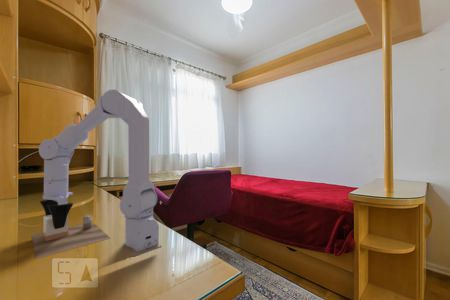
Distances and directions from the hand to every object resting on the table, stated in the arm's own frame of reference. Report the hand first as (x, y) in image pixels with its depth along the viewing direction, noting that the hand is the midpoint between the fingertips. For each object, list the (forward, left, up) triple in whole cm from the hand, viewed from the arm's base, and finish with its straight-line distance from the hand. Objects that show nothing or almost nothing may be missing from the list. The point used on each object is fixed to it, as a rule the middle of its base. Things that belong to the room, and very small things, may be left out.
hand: (55, 225), depth 60 cm
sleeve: (0, 0, -3) cm, 3 cm away
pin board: (-4, -3, -4) cm, 7 cm away
